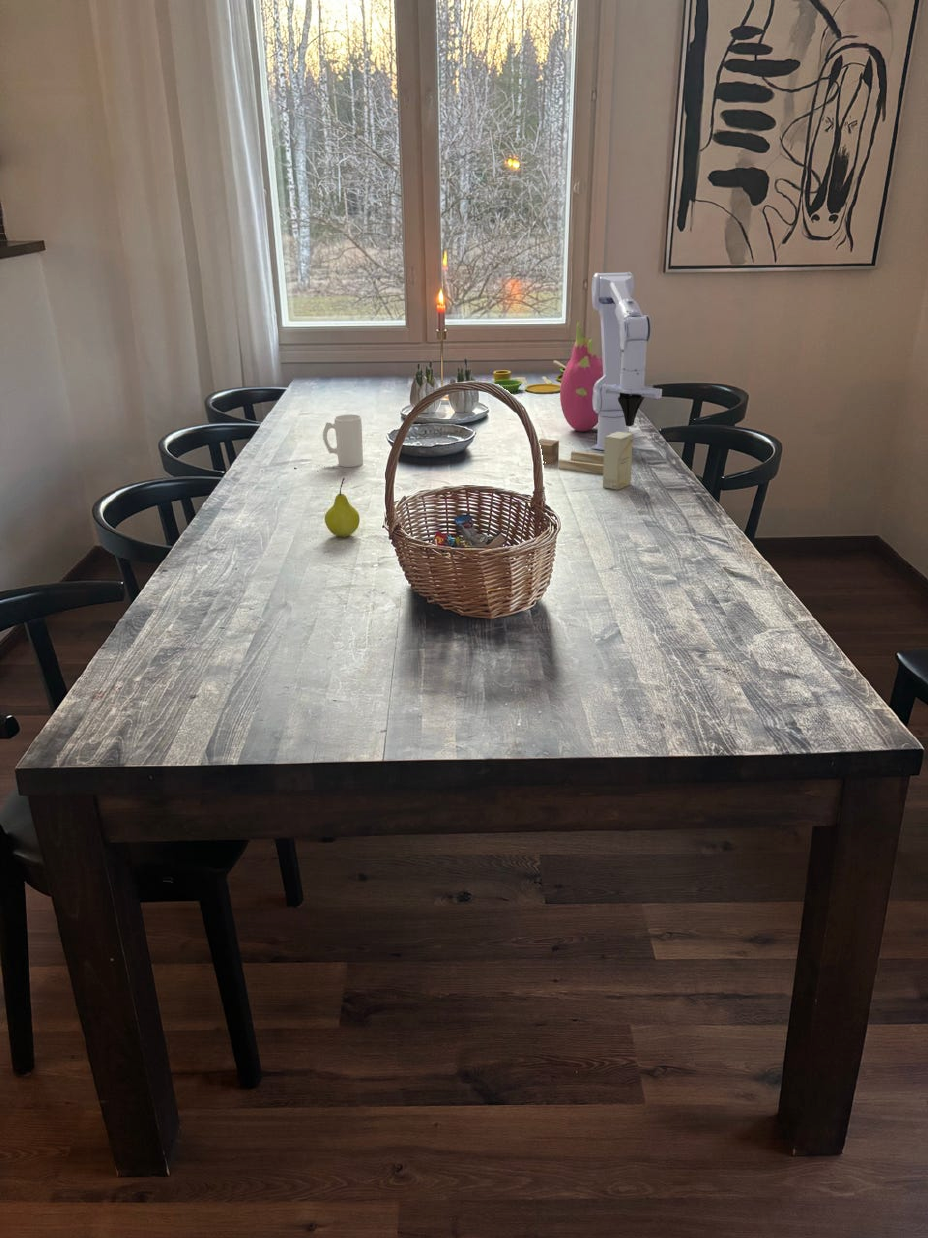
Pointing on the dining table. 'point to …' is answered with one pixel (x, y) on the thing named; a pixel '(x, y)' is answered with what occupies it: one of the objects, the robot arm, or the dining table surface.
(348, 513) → the fruit
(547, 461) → the block
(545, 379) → the tableware set
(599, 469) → the light wooden stepped bars
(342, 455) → the mug
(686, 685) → the dining table surface
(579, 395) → the pitaya
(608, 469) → the skincare box
